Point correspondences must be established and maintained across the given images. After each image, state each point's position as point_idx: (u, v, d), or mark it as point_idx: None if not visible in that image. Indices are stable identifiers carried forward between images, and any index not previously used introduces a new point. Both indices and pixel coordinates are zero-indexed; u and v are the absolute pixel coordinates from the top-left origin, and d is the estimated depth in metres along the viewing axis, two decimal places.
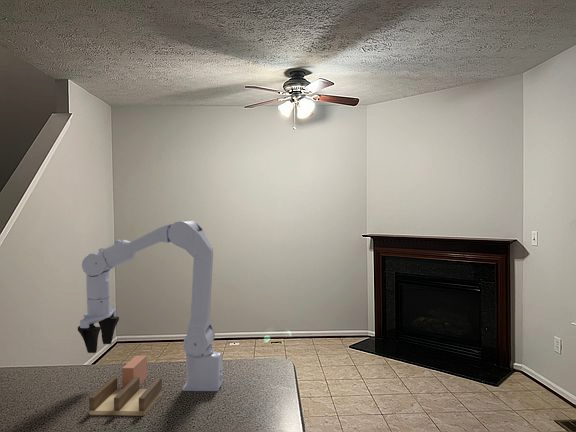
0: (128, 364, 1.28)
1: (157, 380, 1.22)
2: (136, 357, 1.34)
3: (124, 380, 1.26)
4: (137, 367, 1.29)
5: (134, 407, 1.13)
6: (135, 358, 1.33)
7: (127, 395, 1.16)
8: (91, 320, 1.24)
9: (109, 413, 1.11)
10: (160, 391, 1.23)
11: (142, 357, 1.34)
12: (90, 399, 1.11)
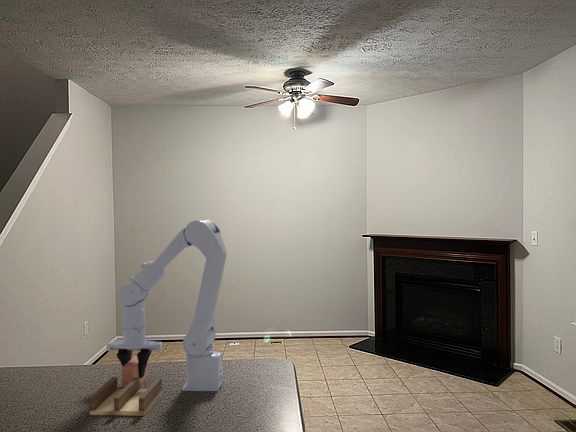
0: (128, 364, 1.28)
1: (157, 380, 1.22)
2: (136, 357, 1.34)
3: (124, 380, 1.26)
4: (137, 367, 1.29)
5: (134, 407, 1.13)
6: (135, 358, 1.33)
7: (127, 395, 1.16)
8: (112, 345, 1.30)
9: (109, 413, 1.11)
10: (160, 391, 1.23)
11: None
12: (90, 399, 1.11)
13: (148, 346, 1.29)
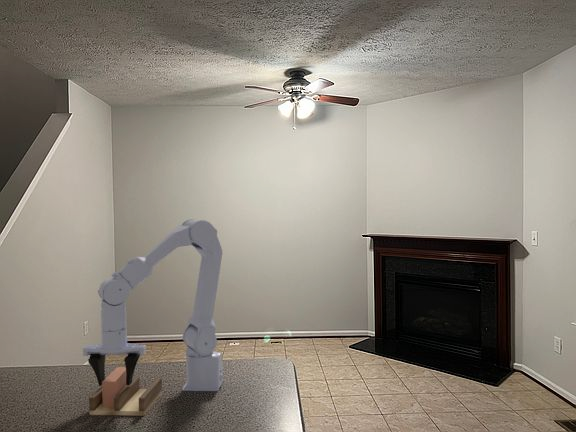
0: (108, 377, 1.16)
1: (157, 380, 1.22)
2: (117, 369, 1.21)
3: (104, 395, 1.13)
4: (119, 380, 1.16)
5: (134, 407, 1.13)
6: (116, 370, 1.21)
7: (127, 395, 1.16)
8: (89, 349, 1.16)
9: (109, 413, 1.11)
10: (160, 391, 1.23)
11: (124, 369, 1.21)
12: (90, 399, 1.11)
13: (130, 350, 1.16)
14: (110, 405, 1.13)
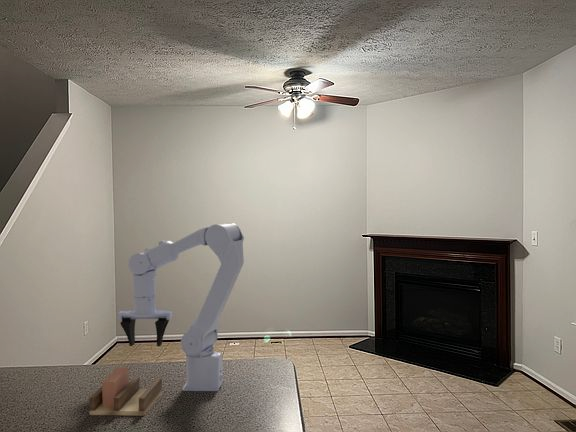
0: (108, 377, 1.16)
1: (157, 380, 1.22)
2: (117, 369, 1.21)
3: (104, 395, 1.13)
4: (119, 380, 1.16)
5: (134, 407, 1.13)
6: (116, 370, 1.21)
7: (127, 395, 1.16)
8: (123, 314, 1.32)
9: (109, 413, 1.11)
10: (160, 391, 1.23)
11: (124, 369, 1.21)
12: (90, 399, 1.11)
13: (158, 315, 1.31)
14: (110, 405, 1.13)
